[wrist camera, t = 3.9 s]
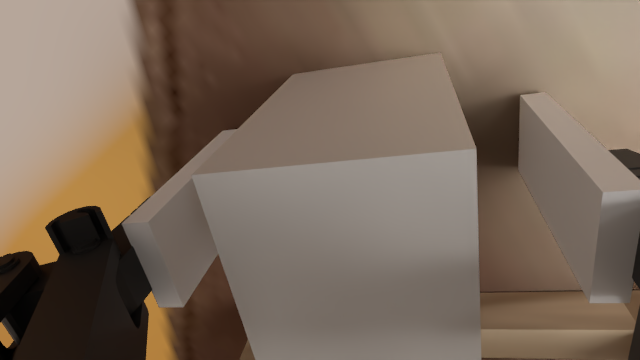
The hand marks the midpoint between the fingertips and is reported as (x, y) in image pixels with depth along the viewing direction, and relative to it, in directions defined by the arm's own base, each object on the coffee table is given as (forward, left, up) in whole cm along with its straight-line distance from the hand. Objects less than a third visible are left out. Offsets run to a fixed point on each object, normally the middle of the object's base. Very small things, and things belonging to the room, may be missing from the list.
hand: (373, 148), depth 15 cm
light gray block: (0, 0, 0) cm, 0 cm away
